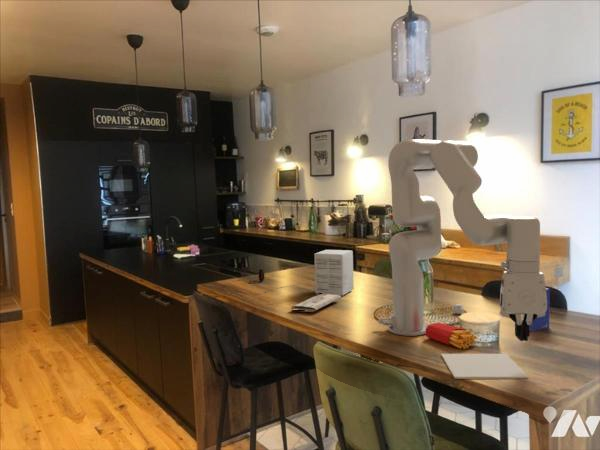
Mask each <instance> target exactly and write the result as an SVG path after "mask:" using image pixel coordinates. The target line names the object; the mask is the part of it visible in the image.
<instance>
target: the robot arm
mask: <svg viewBox="0 0 600 450" xmlns="http://www.w3.org/2000/svg"><path fill="white" fill-rule="evenodd" d="M478 157H479V155H478V151H477V148H476V147H475V146H474V145H473V144H472V143H470V142H469V141H465V140H441V139H440V140H439V139H415V138H414V139H413V138H412V139H410V138H409V139H405V140H402V141H400V142H397V143H396V144H395V145H393V147H392V148H391V151H390V152H389V155H388V162H387V163H388V172H389V177H390V182H391V185H390V186H391V207H392V208H391V210H392V212H391V214H392V219H393V222H394V224H396V225H397V226H398V227H401V228H402V227H403V228H410V227H411V228H412V227H416V230H407V231H401V232H398V233H395V234H393V235H392V237H391V238H390V240H389V242H388V252H389V257H390V262H391V270H392V271H391V273H392V279H391V280H392V313H391V315H390V316H388V317H378V324H379V325H380V324H381V325H382V324H383V326H388V327H387V329H388V331H389V332H390V333H392V334H394V335H399V336H406V337H408V336H409V337H415V336H423V335H426V328H427V326H428V325H426V323H425V318H424V316H425V313H424V312H425V311H424V308H425V307H424V306H425V305H424V303H425V301H424V300H425V299H424V273H423V271H422V270H423V269H422V268H421V266H420V264H419V261H424V260H429V259H433V258H435V257H436V256H438V254H439V253H440V251H441V248H442V224H441V223H442V222H441V220H442V219H441V218H442V217H441V209H440V206H439V204H438V202H437V200H435V199H434V198H433V197H431V196H429V195H421V194H420V181H419V179H418V178H419V177H418V176H417V174H416V173H415V171H414V169H417V168H418V169H419V168H420V169H424V168H425V169H426V168H427V169H429V168H430V169H431V168H433V169H435V170H436V172H437V173H438V175H439V176H440V177H441V180H442V181H443V182H444V184H445V185H446V187H447V188H448V190H449V191H450V192H451V194H452V196H453V199H452V209H453V210H452V211H453V216H454V219H455V221H456V223H457V225H458V226H459V228H460V230H461V231H462V232H463V234H464V235H465V237H466V238H467V239H468V240H469V241H470V242H471V243H473V244H474V245H476V246H482V247H483V246H490V245H501V244H506V258H505V261H503V262H500V268H501V269H505V270H504V271H503V274H502V278H501V284H500V294H499V307H500V310H499V315H500V316H501V317H503V318H506V319H507V318H509V319H511V320H512V321H513V322H514V335H515V337H516V339H518V340H519V341H520V342H524V341H525V342H527V341H529V337H530V333H531V331H530V325H531V324H532V322H533V321H534V320H535V319H536V318H537V317H542V316H545V315H546V314H545V312H546V310H547V294H546V288H547V287H546V279H545V275H544V272H541V270H540V267H541V266H540V265H541V263H540V261H541V260H540V259H541V256H540V255H541V222H540V219H538V218H537V217H535V216H514V215H510V214H501V213H500V214H489V215H484V214H483V213H482V211H481V210H480V209H479V208H478V207H479V206H477V204H476V202H475V200H474V193H475V192H477V191H478V189H479V188H480V187H481V185H482V178H481V175H479V173H478V172H477V170H476V169H475V168H474V167H475V166H476V165H477V162H478V159H479V158H478ZM522 315H523V316H522Z"/></svg>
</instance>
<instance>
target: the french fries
mask: <svg viewBox="0 0 600 450" xmlns="http://www.w3.org/2000/svg"><path fill="white" fill-rule="evenodd" d="M425 336H426V337H427V338H428V339H430V340H433V341H436V342H439V343H442V344H445V345H447V346H451V347H456V348H458V349H463V350H464V349H465V350H466V349H468V348H469V347H472V345H474V343H475V342H476V340H478V337H477V335H475V334H474V333H473V332H471V331H470V330H468V329H466V328H462V327H458V326H454V325H449V324H445V323H441V322H436V323H432V324H431V323H430V324H428V325H427V328H426V334H425Z"/></svg>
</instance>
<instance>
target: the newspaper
mask: <svg viewBox="0 0 600 450" xmlns="http://www.w3.org/2000/svg"><path fill="white" fill-rule="evenodd" d="M341 298H342V295H332V294H319V293H318V294H316V295H314V296H312V297H310V298H308V299H305V300H304V301H301V302H299V303H297V304H295V305H293V306H292V307H290V308H291V310H293V309H298V310H307V311H306V312H310V313H313V312H316V311H318V310H319V309H322V308H324V307H326V306H327V305H329V304H331V303H334V302H336V301H337V300H339V299H341Z"/></svg>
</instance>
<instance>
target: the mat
mask: <svg viewBox="0 0 600 450" xmlns="http://www.w3.org/2000/svg"><path fill="white" fill-rule="evenodd" d="M440 357H442V359H443V361H444V363H445V364H446V367H447V368H448V370H449V371H450V373H451V375H452V376H453V378H454V380H456V379H457V380H461V379H462V380H463V379H465V380H467V379H469V380H470V379H471V380H473V379H474V380H477V379H478V380H479V379H480V380H485V379H486V380H487V379H489V380H490V379H491V380H495V379H498V380H499V379H503V380H505V379H506V380H507V379H513V380H514V379H515V380H517V379H516V378H530V377H529V376H528V375H527V373H525V371H524V370H523V369H522V368H521V367H520V366H518V364H517V363H516V362H515V361H514V360H513V359H512V358H511V357H510V356H509V355H508V354H507V353H440Z"/></svg>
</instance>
